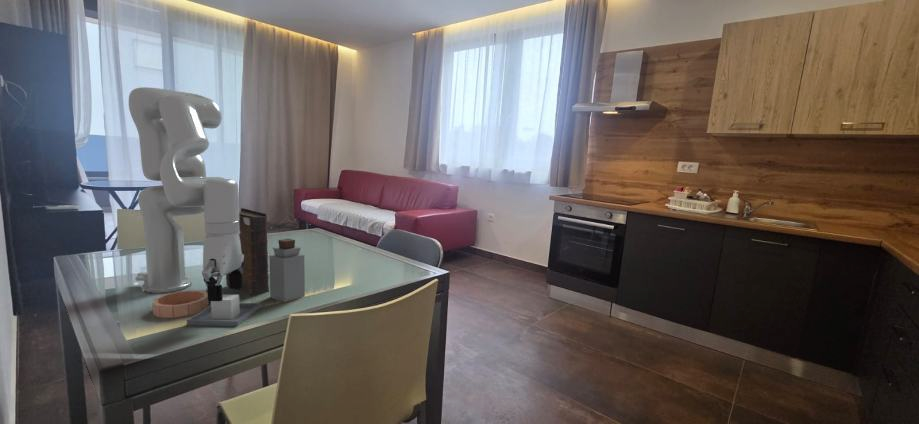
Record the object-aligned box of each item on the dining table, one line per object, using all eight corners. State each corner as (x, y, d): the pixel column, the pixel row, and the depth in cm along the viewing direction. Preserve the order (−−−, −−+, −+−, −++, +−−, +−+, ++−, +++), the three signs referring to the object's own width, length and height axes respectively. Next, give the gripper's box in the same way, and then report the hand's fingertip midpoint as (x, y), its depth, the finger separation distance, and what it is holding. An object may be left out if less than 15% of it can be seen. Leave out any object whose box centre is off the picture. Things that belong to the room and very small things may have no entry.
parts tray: (187, 328, 96) (186, 320, 96) (215, 309, 108) (215, 302, 108) (237, 329, 97) (237, 321, 96) (260, 310, 108) (260, 303, 108)
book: (271, 294, 121) (269, 213, 118) (247, 299, 116) (244, 215, 112) (248, 281, 132) (245, 207, 128) (224, 286, 126) (221, 209, 123)
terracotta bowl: (142, 320, 99) (141, 305, 99) (174, 302, 111) (173, 289, 111) (191, 321, 100) (190, 306, 99) (218, 303, 112) (217, 290, 111)
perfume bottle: (284, 305, 113) (283, 243, 111) (270, 299, 117) (269, 240, 114) (304, 298, 119) (304, 240, 116) (290, 293, 122) (289, 236, 120)
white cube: (211, 318, 100) (210, 299, 99) (220, 312, 104) (219, 294, 103) (231, 319, 100) (231, 300, 100) (239, 312, 104) (239, 294, 104)
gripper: (226, 223, 107) (229, 284, 109) (185, 234, 90) (189, 306, 92) (254, 223, 108) (256, 284, 110) (218, 234, 91) (222, 306, 93)
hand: (226, 294), depth 101 cm, fingers open, 9 cm apart
